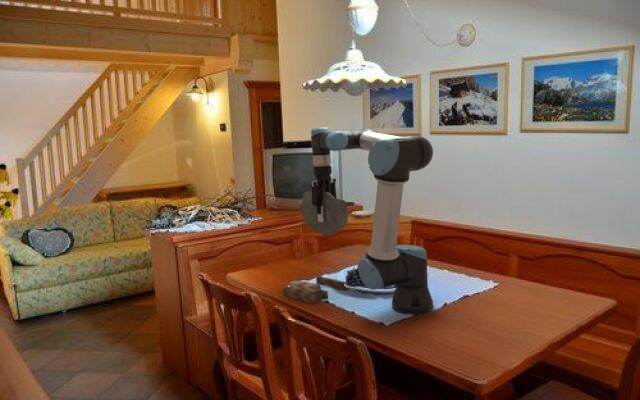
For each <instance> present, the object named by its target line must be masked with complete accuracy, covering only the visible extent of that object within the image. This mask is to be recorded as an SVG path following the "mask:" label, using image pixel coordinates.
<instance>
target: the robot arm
mask: <svg viewBox="0 0 640 400" xmlns="http://www.w3.org/2000/svg"><path fill="white" fill-rule="evenodd" d="M310 135H311V136H310V140H311V141H310V142H311V153H312V165H313V168H312V169H313V175H314V176H315V178H314V180H313V181H310V182H309V184H310V188H311V190H312V205H314V206H316V209H317V214H318V222H324V213H323V206H321V205H322V197H323V191H325V192H328V193H330V194H331V195H332V196H333V197H334V198H335V199H336V198H337V188H336V187H337V186H336V183H337V179H336V178H333V177H332V176H331V175H332V173H333V171H332V166H331V164H332V156H331V151H333V152H334V151H335V152H340V151H346V150H358V149H359V150H363V151H368V157H367V163H368V165H369V166H368V168H369V169H370V170H369V171H370V172H371V173H372V174H373V178H374V179H375V181H377V185H376V195H375V196H376V197H375V205H374V213H373V214H374V216H373V223H372V224H373V227H372V235H371V242H370V243H371V245H369V246H368V247H367V248H366V250H365V257H362V258H360V259H358V264H357V271H358V275H359V278H360V280H361V281H362V283H363V284H364V286H365V287H366V288H367V289H369V290H373V291H374V290H378V289H379V290H382V289H383V288H388V287H391V286H395V288H394V289H395V290H394V292H393V295H392V300H391V308H392V309H393V310H394V311H396V312H399V313H402V314H410V315H411V314H413V315H414V314H424V313H427V312H430V311H431V310H433V308H434V300H433V298H432V295H431V292H430V290H429V286H428V285H429V284H428V258H427V250H426V249H425V248H424V247H422V246H418V245H411V244H397V243H398V242H397V241H398V231H399V224H400V216H401V208H402V199H403V192H404V185H405V184H406V183H407V182H409V180H410V172H415V171H421V170H422V169H425V168H426V167H427V166H428V165H429V164H430V163H431V161H432V159H433V158H434V157H433V155H434V149H433V145H432V143H431V142H430V141H429V140H428V139H427V138H425V137H423V136H420V135H408V136H397V135H392V134H387V133H380V132H374V131H372V130H371V129H365V128H364V129H357V130H356V129H355V130H354V129H353V130H333V131H330V129H329V128H328V127H317V128H316V127H315V128H312V129H311V130H310ZM311 190H310V191H311Z"/></svg>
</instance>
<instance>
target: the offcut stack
mask: <svg viewBox="0 0 640 400" xmlns="http://www.w3.org/2000/svg"><path fill="white" fill-rule="evenodd" d="M289 287H290V289H292V290H296V291H299V292H303V293H307V294H311V295H315V294H317V293H319V290H322V288H321V287H322V286H321V284H317V283H314V282H309V281H308V282H307V281H304V280H303V281H302V280H298V279H294V280H292V281H289Z"/></svg>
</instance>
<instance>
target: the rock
mask: <svg viewBox="0 0 640 400" xmlns="http://www.w3.org/2000/svg"><path fill="white" fill-rule="evenodd" d="M301 201H302V202H301V205H302V206H301V212H302V218H303V223H304V224H306V225H307V226H308V227H309V228H311V229H312V230H313V231H316V232H318V233H320V234H322V235H323V236H325V237H328V236H331V235H333V234H336V233H338V232H339V231H341V230H342V229H343V228H345V226H347V225H348V219H349V214H350V212H349V209H348V203H347V202H346V200H344V199H340V198H337V197H336V199H335V198H334V197H333V196H332V195H331V194H330V193H328V192H325V190H323V197H322V205H321V206H323V213H324V222H318V214H317V209H316V206H314V205H312V190H309V191H304V193H303V195H302V200H301Z"/></svg>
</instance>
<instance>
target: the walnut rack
mask: <svg viewBox="0 0 640 400" xmlns="http://www.w3.org/2000/svg"><path fill="white" fill-rule="evenodd" d="M315 279H316V284H320V285H323V286H326V287H329V288H334V289H337V290H343V291H349V290H350V287H349V288H346V287H345V286H344V284H345V282H346V281H342V280H338V279H334V278H330V277H325V276H321V275H319V276H318V275H317V276H316V277H315ZM282 296H284V297H287V298H290V299H293V300H294V299H295V300H297V301H300V302H301V301H302V302H304V303H308V304H312V305H315V304H316V303H319V302H322V301H323V300H327V299H328V298H329V293H328V290H325V289H321V290H319V293H317V294H315V295H311V294H307V293H303V292H299V291H296V290H292V289H290V286H288V287H284V288H282Z"/></svg>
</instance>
